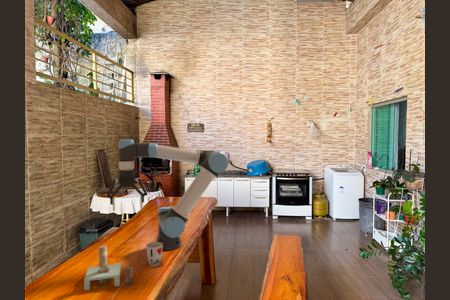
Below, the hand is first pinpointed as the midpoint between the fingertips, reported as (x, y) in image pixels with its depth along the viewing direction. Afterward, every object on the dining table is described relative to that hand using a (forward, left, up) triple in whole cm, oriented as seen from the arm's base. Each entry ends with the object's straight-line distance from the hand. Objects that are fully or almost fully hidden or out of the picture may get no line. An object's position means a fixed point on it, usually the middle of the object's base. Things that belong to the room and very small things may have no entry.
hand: (127, 209), depth 160 cm
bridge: (+10, +22, -27) cm, 36 cm away
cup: (-13, +9, -27) cm, 31 cm away
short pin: (-1, +27, -27) cm, 38 cm away
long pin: (+10, +22, -27) cm, 36 cm away
